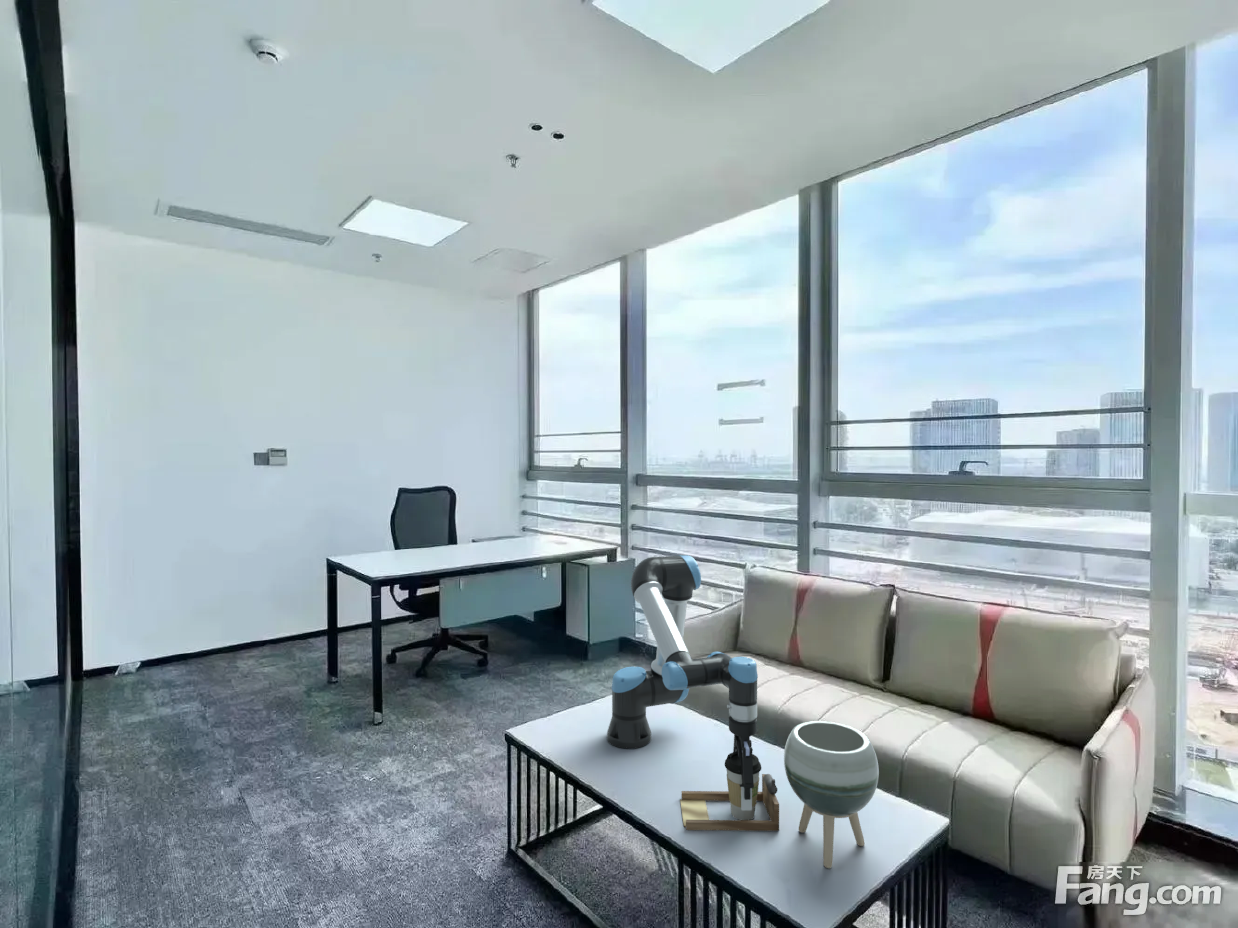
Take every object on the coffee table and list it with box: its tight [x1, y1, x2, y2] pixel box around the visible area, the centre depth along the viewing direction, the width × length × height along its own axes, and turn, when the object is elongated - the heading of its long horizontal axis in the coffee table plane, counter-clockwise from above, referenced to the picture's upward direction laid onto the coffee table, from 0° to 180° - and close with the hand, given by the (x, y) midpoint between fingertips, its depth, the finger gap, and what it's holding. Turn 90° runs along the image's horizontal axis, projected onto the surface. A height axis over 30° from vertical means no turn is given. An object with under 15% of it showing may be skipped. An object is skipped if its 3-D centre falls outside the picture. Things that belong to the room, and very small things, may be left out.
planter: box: [783, 720, 880, 869], centre depth 153 cm, size 22×22×28 cm
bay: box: [679, 773, 780, 832], centre depth 167 cm, size 15×25×11 cm, turn 89°
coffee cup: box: [724, 751, 762, 820], centre depth 167 cm, size 10×10×15 cm
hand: (742, 798), depth 167 cm, fingers closed on coffee cup, 10 cm apart
